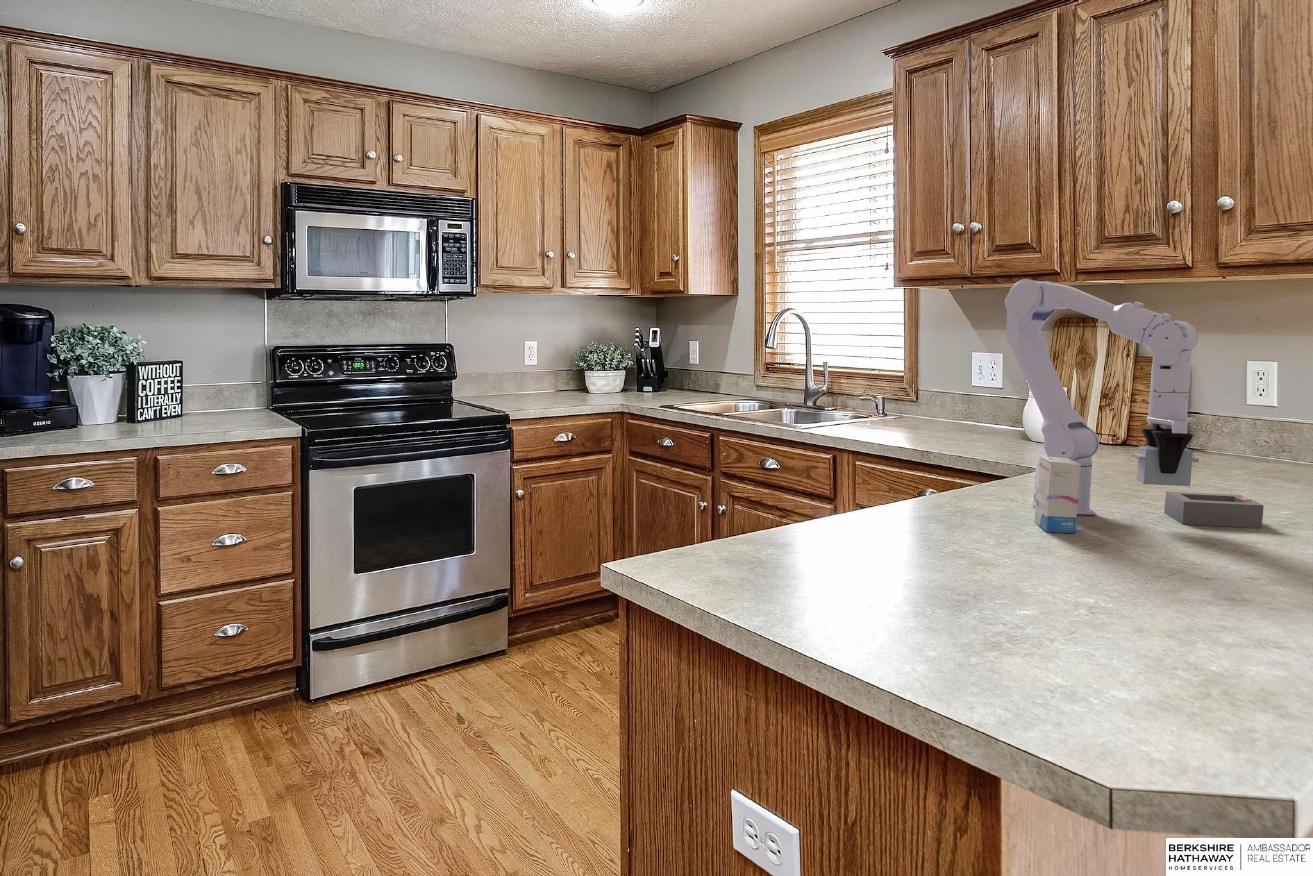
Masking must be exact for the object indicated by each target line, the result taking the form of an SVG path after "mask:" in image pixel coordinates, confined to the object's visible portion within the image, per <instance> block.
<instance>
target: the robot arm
mask: <svg viewBox="0 0 1313 876" xmlns="http://www.w3.org/2000/svg"><path fill="white" fill-rule="evenodd" d="M1003 303H1004V306H1005V308H1006V325H1005V328H1006V329H1005V335H1006V339H1007V341H1008V343H1009V345H1010V348H1011V350H1012V352H1013V354H1014V357H1015V358H1016V360H1017V363H1018V366H1019V368H1020V370H1021V372H1022V374H1023V377H1024V378H1025V381H1026V384H1027V385H1028V388H1029V390H1030V392H1031V394H1032V396H1033V398H1034V400H1035V403H1036V405H1037V407H1038V409H1039V411H1040V414H1041V416H1042V418H1043V422H1042V426H1041V429H1040V431H1041V433H1042V435H1043V438H1044V442H1043V444H1044V445H1043V447H1044V452H1045V454H1046V457H1058V458H1068V459H1070V460H1072V461H1074V462H1076V463H1078V464H1080V465H1081V474H1080V485H1079V496H1078V508H1077V515H1087V516H1088V515H1089V516H1095V515H1096V513H1097V512H1095V511H1094V510H1093V509H1092V508H1091V507H1090V506H1091V505H1090V504H1091V488H1092V474H1093V460H1092V457H1093V456H1095V454H1096V453H1097V452H1098V450H1099V447H1100V440H1099V439H1100V438H1099V436H1098V434H1097V433H1096V431H1094V429H1092V428H1091V427H1090V426H1088V424H1087V423H1086V421H1085V419H1084V417H1083V416H1082V415H1080V413H1078V411H1077V410H1075V409H1074V408H1073V405H1072V404H1071V403H1072V402H1071V401H1070V399H1069V397H1068V395H1067V392H1066V390H1065V388H1064V386H1063V384H1062V381H1061V380H1060V377H1059V375H1058V373H1057V371H1056V368H1055V367H1054V365H1053V363H1052V361H1051V358H1050V356H1049V354H1048V351H1047V350H1046V347H1045V345H1044V344H1043V340H1042V339H1041V337H1040V333H1041V330H1042V328H1043V326H1044V325H1045V323H1046V322H1047V321H1048V320H1049V319H1050V318H1051V316H1052V315H1053V314H1054V313H1055V312H1056V311H1057V310H1065V309H1066V310H1067V309H1070V310H1071V311H1072V310H1073V311H1075V312H1078V313H1080V314H1082V315H1086V316H1089V317H1092V318H1095V319H1098V320H1100V321H1104V322H1105V323H1107V325H1108V326H1109V330H1110V332H1111V333H1112V334H1114V335H1118V336H1120V337H1122V338H1125V339H1127V340H1129V341H1132V342H1135V343H1137V344H1140V345H1143V346H1145V347H1148V348H1149V349H1150V350H1151V351H1152V364H1151V372H1150V373H1151V374H1150V386H1149V387H1150V389H1149V401H1148V413H1147V415H1148V416H1147V417H1146V422H1147V424H1148V425H1149V426H1151V427H1148V428H1147V427H1143V428H1141V432H1142V434H1143V436H1144V439H1145V441H1146V443H1147V446H1150V447H1157V448H1158V454H1159V466H1160V471H1161V473H1168V474H1175V473H1176V471H1177V468H1178V466H1179V462H1180V459H1181V457H1182V454H1183V452H1184V450H1185V448H1187V446H1188V445H1189V443H1190V442H1191V441H1192V439H1193V436H1194V435H1193V434H1192V433H1188V424H1193V423H1196V418H1193V417H1188V412H1189V411H1188V410H1189V396H1190V387H1191V374H1192V373H1191V371H1192V354H1193V352H1192V350H1193V349H1194V348H1195V347H1196V346H1197V344H1198V340H1199V333H1198V330H1197V328H1196V327H1195V326H1194V325H1192V324H1191V323H1190V322H1188V321H1186V320H1184V319H1176V320H1172V319H1171V317H1172V315H1171V314H1169V313H1167V312H1166V313H1165V312H1163V313H1162V314H1161V313H1158V312H1157V311H1153V310H1150V309H1148V308H1145V304H1144V303H1142V302H1140V301H1134V302H1133V303H1132V302H1125V303H1122V304H1119V305H1116V304H1113V303H1110V302H1108V301H1106V300H1105V299H1102V298H1100V297H1097V296H1096V295H1092V294H1089V293H1087V292H1085V291H1083V290H1080V289H1078V288H1076V287H1073V286H1070V285H1065V284H1060V283H1056V282H1054V281H1051V280H1050V281H1049V280H1045V281H1043V280H1041V281H1040V280H1033V279H1029V278H1024V279H1020V280H1018V281H1016V282H1014V284H1013V285H1012V286H1011V288H1010V289H1009V291H1008V293H1007V295H1006V296H1005V299H1004V302H1003ZM1038 469H1039V462H1038V463H1037V464H1036V467H1035V472H1034V487H1033V488H1034V489H1033V502H1032V506H1034V507H1035V506H1036V494H1037V481H1038Z"/></svg>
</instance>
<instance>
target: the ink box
mask: <svg viewBox="0 0 1313 876" xmlns="http://www.w3.org/2000/svg"><path fill="white" fill-rule="evenodd" d="M1038 459H1039V460H1038V463H1039V469H1038V481H1037V494H1036V506H1034V507H1035V508H1034V519H1033V522H1034V524H1036V525H1037V526H1039V528H1041V529H1042V530H1043V531H1044V532H1046V533H1062V534H1063V533H1064V534H1076V533H1077V531H1076V529H1077V518H1078V514H1077V508H1078V496H1079V485H1080V474H1081V465H1080V464H1078V463H1076V462H1074V461H1072V460H1070V459H1068V458H1058V457H1048V456H1040V455H1039V458H1038Z"/></svg>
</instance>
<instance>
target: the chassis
mask: <svg viewBox="0 0 1313 876" xmlns="http://www.w3.org/2000/svg"><path fill="white" fill-rule="evenodd" d="M1163 511H1164V512H1163V513H1164V514H1165V515H1168V516H1169V517H1170V518H1172V519H1173V520H1175V521H1177V522H1178V523H1180V524H1181V525H1192V526H1193V525H1194V526H1209V527H1210V526H1211V527H1231V528H1232V527H1233V528H1244V529H1246V528H1249V529H1262V528H1263V520H1264V519H1263V518H1264V516H1263V515H1264V504H1262V503H1259V502H1257V501H1255V500H1253V499H1251V498H1248V497H1246V496H1244V495H1242V494H1233V493H1232V494H1229V493H1228V494H1227V493H1209V492H1208V493H1206V492H1186V491H1185V492H1183V491H1167V490H1166V491H1165V497H1164V509H1163Z"/></svg>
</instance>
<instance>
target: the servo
mask: <svg viewBox="0 0 1313 876" xmlns="http://www.w3.org/2000/svg"><path fill="white" fill-rule="evenodd" d="M1193 454H1194V451H1193V450H1192V449H1189V448H1187V447H1186V448H1185V450H1184V452H1183V454H1182V457H1181V459H1180V462H1179V466H1178V468H1177V471H1176V473H1175V474H1168V473H1161V471H1160V466H1159V454H1158V448H1157V447H1150V446H1148V445H1145V446H1143V445H1142V446H1141V445H1139V446H1138V453H1135V452H1133V453H1131V457H1132V458H1134V459H1135V460H1137V468H1136V469H1137V470H1136V481H1137V482H1138V483H1139V482H1140V483H1141V484H1142V485H1155V486H1179V487H1181V486H1182V487H1191V477H1192V469H1193V468H1192V467H1193V463H1199V462H1200V458H1198V457H1195V456H1194V455H1193Z"/></svg>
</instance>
